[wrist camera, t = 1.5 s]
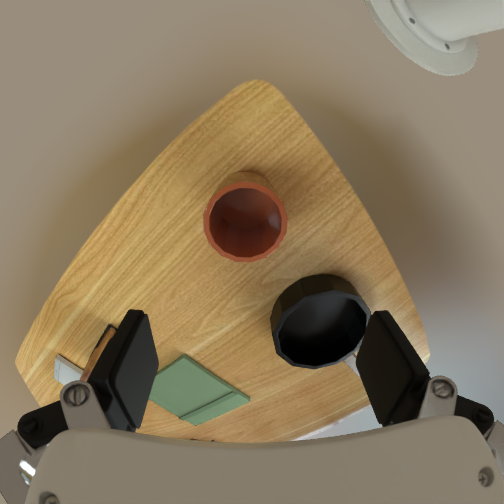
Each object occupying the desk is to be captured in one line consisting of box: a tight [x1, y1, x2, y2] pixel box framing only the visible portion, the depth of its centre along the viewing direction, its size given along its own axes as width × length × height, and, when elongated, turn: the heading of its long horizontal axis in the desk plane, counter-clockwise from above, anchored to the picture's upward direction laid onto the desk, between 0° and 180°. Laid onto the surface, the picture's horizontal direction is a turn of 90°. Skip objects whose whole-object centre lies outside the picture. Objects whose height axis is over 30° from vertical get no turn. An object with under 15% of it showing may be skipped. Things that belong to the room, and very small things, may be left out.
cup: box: [204, 171, 288, 262], centre depth 25 cm, size 6×6×8 cm
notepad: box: [149, 354, 250, 426], centre depth 40 cm, size 14×14×1 cm
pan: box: [270, 274, 371, 376], centre depth 34 cm, size 12×20×4 cm, turn 42°
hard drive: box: [54, 354, 83, 385], centre depth 40 cm, size 2×8×12 cm
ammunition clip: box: [80, 324, 117, 382], centre depth 31 cm, size 11×2×12 cm, turn 141°
